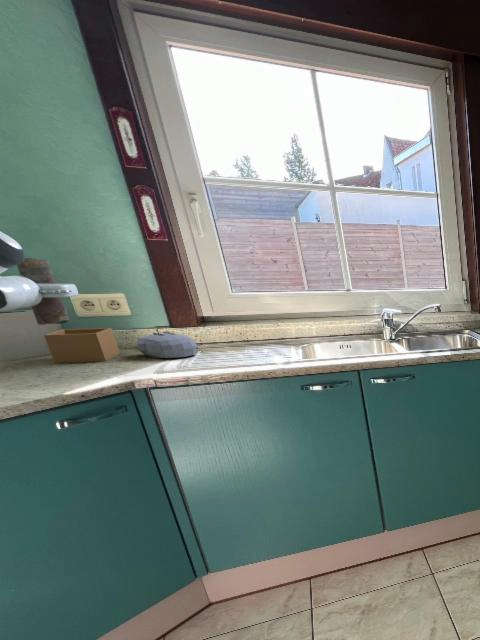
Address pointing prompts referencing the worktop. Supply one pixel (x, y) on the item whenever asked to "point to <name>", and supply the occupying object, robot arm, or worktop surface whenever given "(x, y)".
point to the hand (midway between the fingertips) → (43, 288)
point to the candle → (49, 307)
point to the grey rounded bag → (167, 345)
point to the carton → (82, 345)
